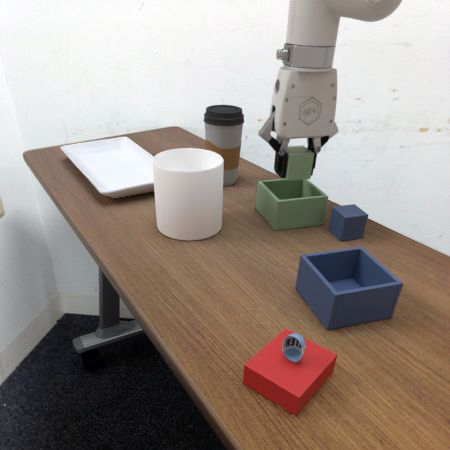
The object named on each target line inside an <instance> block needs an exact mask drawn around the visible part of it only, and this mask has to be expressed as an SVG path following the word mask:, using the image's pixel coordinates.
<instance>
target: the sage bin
mask: <svg viewBox="0 0 450 450" xmlns="http://www.w3.org/2000/svg"><path fill="white" fill-rule="evenodd" d="M328 200H329V195H327V194H326V193H325V192H324V191H322V190H321V189H320V188H319V187H317V186H316V185H315V184H314V183H313V182H312V181H311V180H310V179H303V180H292V181H287V180H286V179H285V178H276V179H275V178H274V179H264V180H257V187H256V199H255V210H256V211H257V212H258V213H259V215H261V216H262V217H263V219H264V220H265V221H266V223H267V224H268V225H269V226H270V227H271V228H272V229H273V231H274V232H278V231H285V230H293V229H302V228H308V227H317V226H324V222H325V217H326V211H327V205H328V202H329V201H328Z"/></svg>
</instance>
